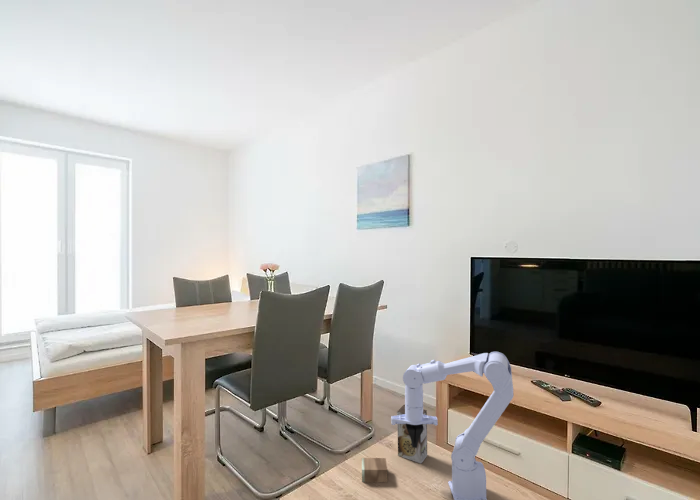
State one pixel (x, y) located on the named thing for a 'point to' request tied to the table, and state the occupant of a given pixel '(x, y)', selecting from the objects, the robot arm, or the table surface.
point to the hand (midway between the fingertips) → (414, 445)
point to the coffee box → (406, 444)
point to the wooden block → (374, 470)
